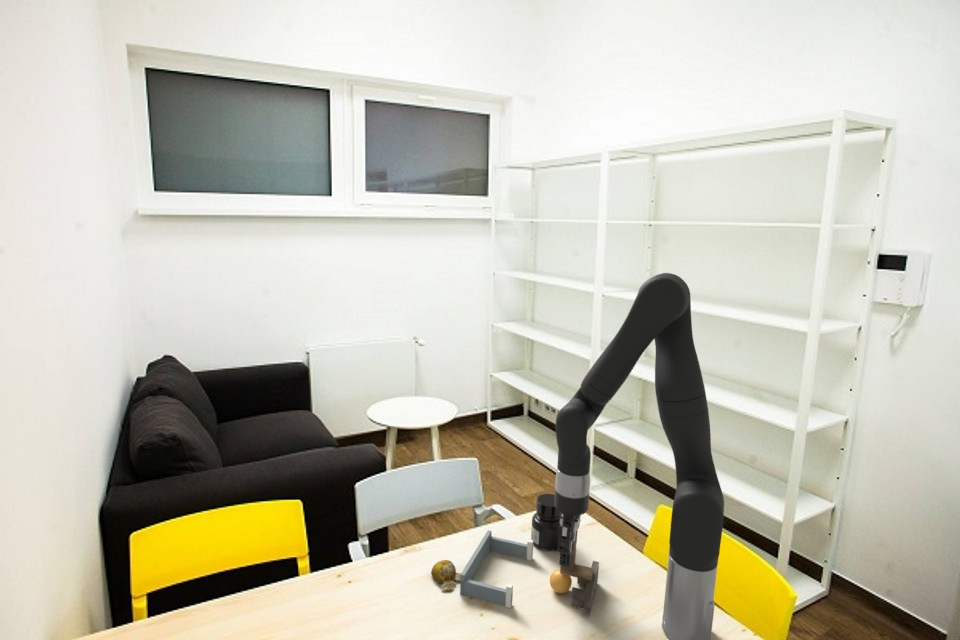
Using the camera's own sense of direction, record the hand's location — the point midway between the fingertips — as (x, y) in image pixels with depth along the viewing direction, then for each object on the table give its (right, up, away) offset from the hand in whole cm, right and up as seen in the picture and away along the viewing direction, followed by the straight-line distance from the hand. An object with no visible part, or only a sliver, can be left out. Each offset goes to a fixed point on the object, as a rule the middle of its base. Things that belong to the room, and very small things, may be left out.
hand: (568, 554), depth 123 cm
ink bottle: (-2, -6, +21) cm, 22 cm away
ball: (-1, -7, +2) cm, 7 cm away
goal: (-16, -8, +7) cm, 19 cm away
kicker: (+2, -9, +1) cm, 10 cm away
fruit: (-27, -9, +5) cm, 29 cm away
